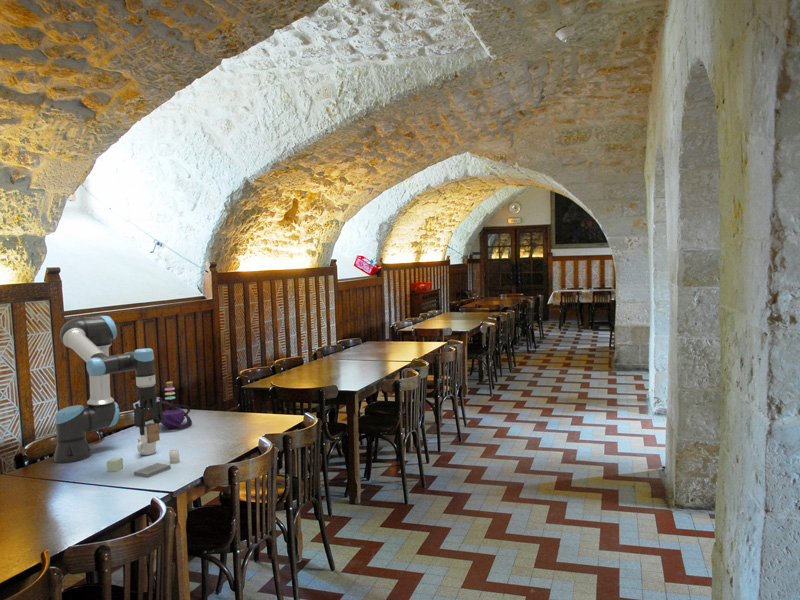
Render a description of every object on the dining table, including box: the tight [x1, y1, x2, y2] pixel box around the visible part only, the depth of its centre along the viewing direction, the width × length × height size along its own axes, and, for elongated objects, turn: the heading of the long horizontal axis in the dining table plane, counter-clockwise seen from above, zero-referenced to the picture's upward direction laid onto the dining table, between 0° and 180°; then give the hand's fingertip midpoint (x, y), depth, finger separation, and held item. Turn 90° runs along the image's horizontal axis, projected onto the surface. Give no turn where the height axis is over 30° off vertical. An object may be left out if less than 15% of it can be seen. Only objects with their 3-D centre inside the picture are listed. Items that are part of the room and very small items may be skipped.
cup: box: [136, 435, 157, 456], centre depth 285 cm, size 11×8×8 cm
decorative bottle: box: [155, 380, 193, 430], centre depth 331 cm, size 22×21×25 cm
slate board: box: [133, 462, 172, 479], centre depth 260 cm, size 8×12×2 cm, turn 152°
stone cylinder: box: [168, 449, 180, 465], centre depth 272 cm, size 4×4×5 cm
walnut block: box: [141, 422, 160, 443], centre depth 259 cm, size 5×5×7 cm
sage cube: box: [106, 457, 124, 473], centre depth 265 cm, size 4×4×4 cm
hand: (150, 440), depth 260 cm, fingers closed on walnut block, 5 cm apart
